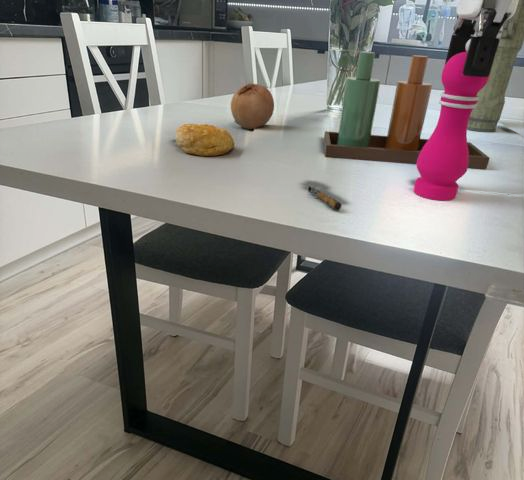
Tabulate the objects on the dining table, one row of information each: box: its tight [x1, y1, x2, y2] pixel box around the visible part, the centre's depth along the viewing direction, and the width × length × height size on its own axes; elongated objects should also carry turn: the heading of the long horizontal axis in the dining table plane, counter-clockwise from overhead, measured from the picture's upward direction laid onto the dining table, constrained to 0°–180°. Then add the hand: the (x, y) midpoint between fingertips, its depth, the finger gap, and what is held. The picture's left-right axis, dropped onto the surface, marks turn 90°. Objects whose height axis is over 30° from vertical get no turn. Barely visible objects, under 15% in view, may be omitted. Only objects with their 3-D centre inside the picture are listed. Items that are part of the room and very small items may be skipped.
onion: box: [230, 82, 275, 130], centre depth 104 cm, size 10×9×10 cm
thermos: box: [467, 0, 524, 133], centre depth 113 cm, size 9×12×35 cm
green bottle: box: [337, 51, 381, 147], centre depth 87 cm, size 6×6×16 cm
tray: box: [323, 130, 491, 171], centre depth 90 cm, size 29×13×3 cm, turn 85°
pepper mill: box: [413, 39, 490, 201], centre depth 67 cm, size 7×7×20 cm
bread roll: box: [174, 123, 235, 157], centre depth 86 cm, size 10×11×5 cm
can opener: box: [307, 185, 342, 211], centre depth 67 cm, size 9×2×1 cm, turn 16°
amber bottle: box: [385, 54, 433, 151], centre depth 86 cm, size 6×6×16 cm
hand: (464, 72), depth 64 cm, fingers open, 9 cm apart
